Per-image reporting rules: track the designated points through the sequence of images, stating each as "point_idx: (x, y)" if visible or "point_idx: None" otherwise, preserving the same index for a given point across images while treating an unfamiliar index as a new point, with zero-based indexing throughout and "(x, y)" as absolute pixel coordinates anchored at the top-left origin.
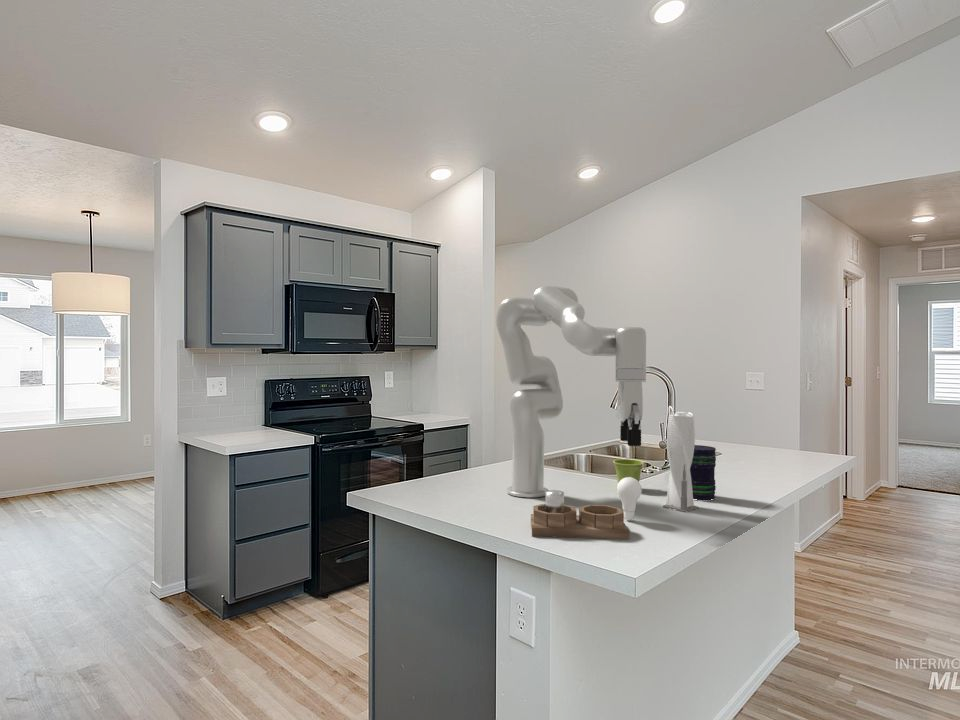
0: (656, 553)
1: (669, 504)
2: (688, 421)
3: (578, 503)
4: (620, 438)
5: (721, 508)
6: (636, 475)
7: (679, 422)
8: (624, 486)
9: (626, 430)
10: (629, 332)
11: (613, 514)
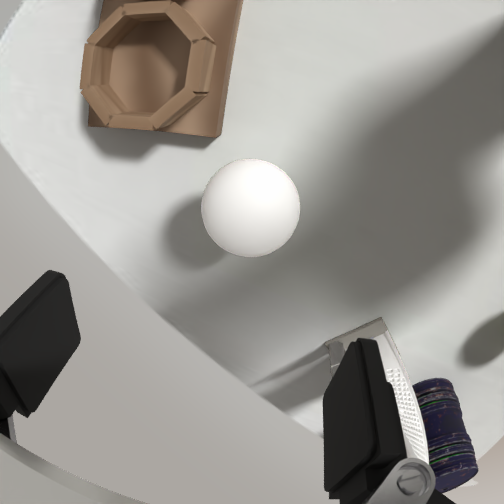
0: (34, 156)
1: (381, 335)
2: None
3: (469, 109)
4: (374, 346)
5: None
6: None
7: None
8: (213, 181)
9: (345, 437)
10: None
11: (89, 93)
